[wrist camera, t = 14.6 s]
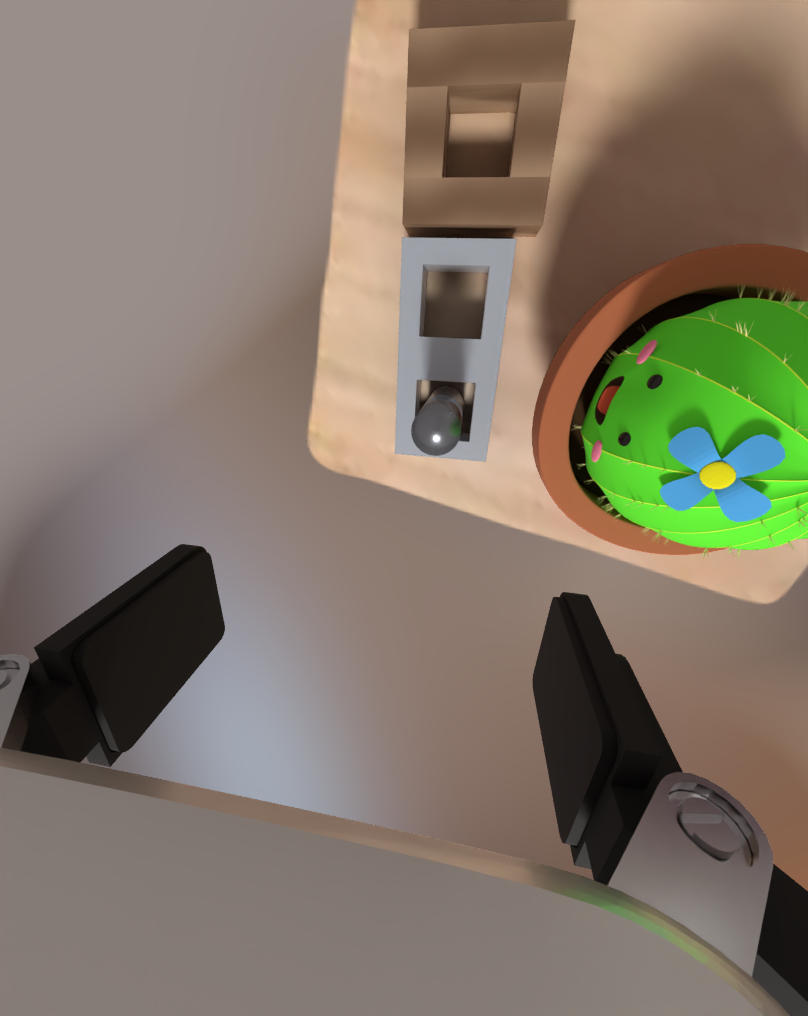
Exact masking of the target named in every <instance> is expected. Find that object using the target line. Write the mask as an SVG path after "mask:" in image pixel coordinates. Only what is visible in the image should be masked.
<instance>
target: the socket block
mask: <svg viewBox="0 0 808 1016" xmlns="http://www.w3.org/2000/svg"><path fill="white" fill-rule="evenodd" d="M574 25H575V20H565V21H547V22H529V23H512V24H494V25H476V26H459V27H441V28H423V29H409V48H408V78H407V108H406V138H405V167H404V197H403V225H404V227H405V229H406V231H407V232H408V234H409V235H438V236H518V237H535V236H536V235H537V233H538V232H539V230H540V228H541V227H542V225H543V220H544V214H545V207H546V201H547V195H548V188H549V182H550V176H551V170H552V163H553V157H554V151H555V145H556V138H557V132H558V126H559V119H560V113H561V107H562V101H563V94H564V88H565V82H566V75H567V69H568V63H569V57H570V50H571V44H572V38H573V32H574ZM498 112H516V114H515V123H514V131H513V139H512V147H511V155H510V163H509V171H508V177H449V178H446V167H447V152H448V138H449V123H450V114H462V113H498Z"/></svg>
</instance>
